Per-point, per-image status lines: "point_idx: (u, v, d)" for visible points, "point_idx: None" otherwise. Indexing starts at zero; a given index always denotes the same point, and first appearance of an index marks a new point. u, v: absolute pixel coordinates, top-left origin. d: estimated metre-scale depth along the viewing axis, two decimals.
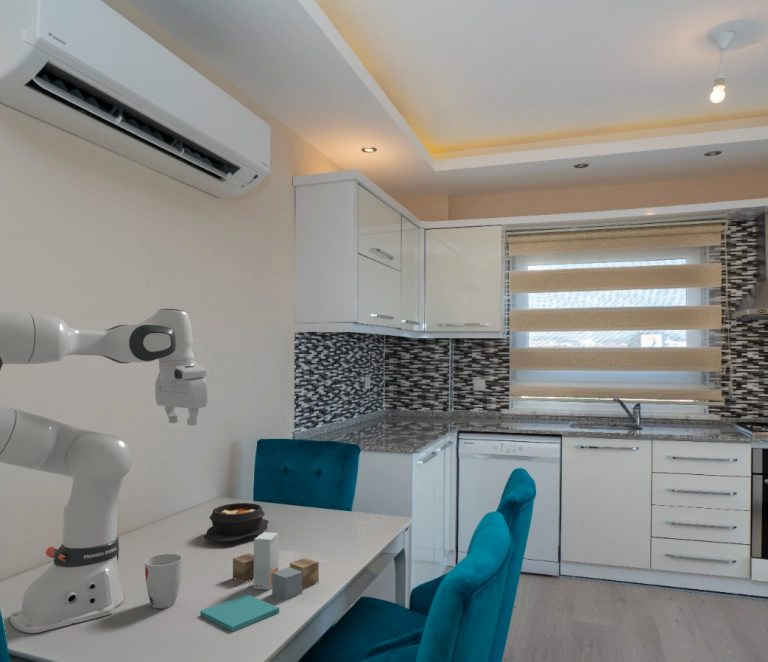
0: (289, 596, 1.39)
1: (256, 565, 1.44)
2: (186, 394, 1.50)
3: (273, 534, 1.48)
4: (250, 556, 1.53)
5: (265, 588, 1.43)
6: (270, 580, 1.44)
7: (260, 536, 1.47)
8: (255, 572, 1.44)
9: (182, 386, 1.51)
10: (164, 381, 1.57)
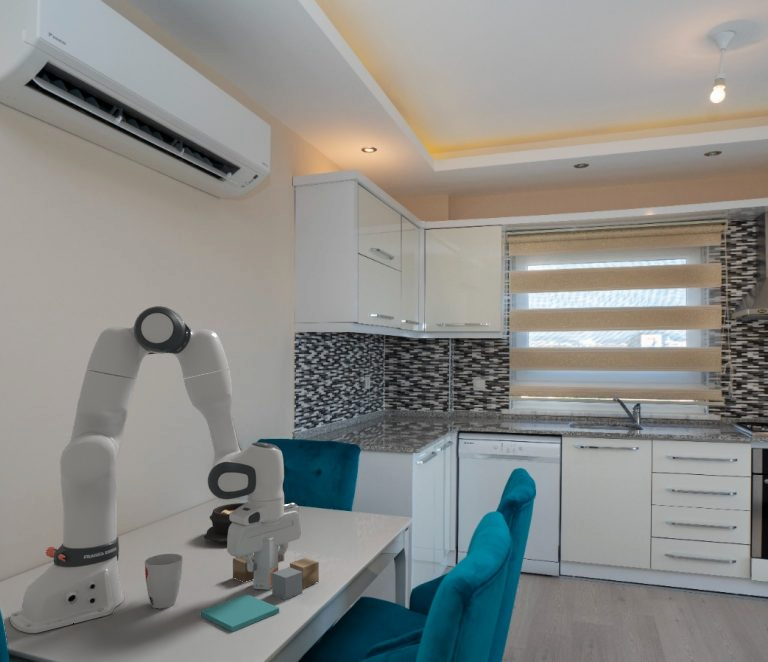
0: (289, 596, 1.39)
1: None
2: None
3: None
4: None
5: (265, 588, 1.43)
6: (270, 580, 1.44)
7: None
8: (255, 572, 1.44)
9: None
10: None
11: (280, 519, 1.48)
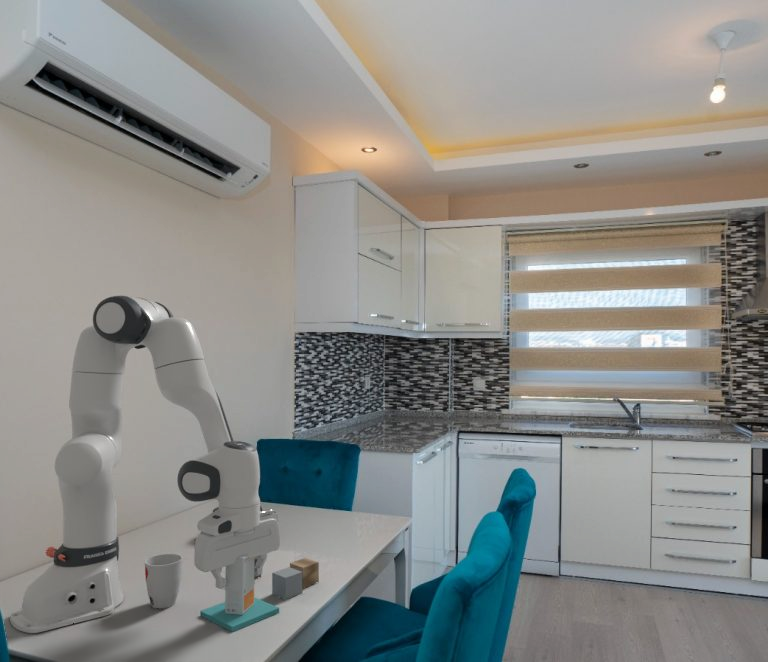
0: (289, 596, 1.39)
1: (228, 587, 1.28)
2: None
3: None
4: None
5: (238, 613, 1.27)
6: (243, 604, 1.27)
7: None
8: (227, 595, 1.28)
9: None
10: None
11: (256, 528, 1.32)
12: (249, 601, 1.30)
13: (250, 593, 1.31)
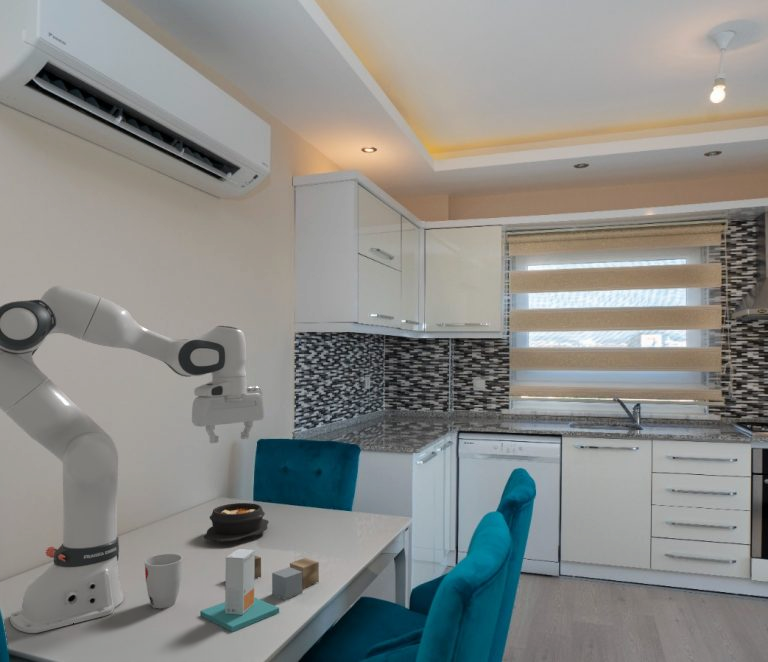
0: (289, 596, 1.39)
1: (228, 587, 1.28)
2: None
3: (248, 551, 1.32)
4: None
5: (238, 613, 1.27)
6: (243, 603, 1.27)
7: (233, 554, 1.30)
8: (227, 595, 1.28)
9: None
10: None
11: (243, 398, 1.58)
12: (249, 601, 1.30)
13: (250, 593, 1.31)
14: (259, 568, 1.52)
